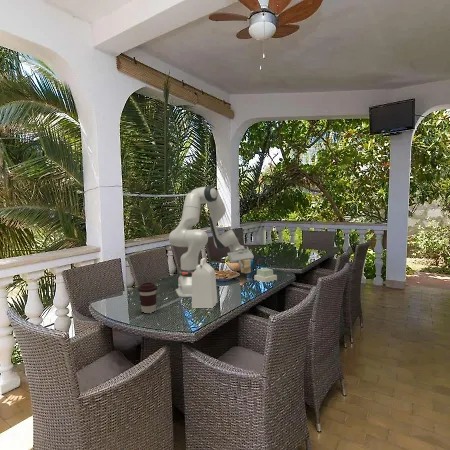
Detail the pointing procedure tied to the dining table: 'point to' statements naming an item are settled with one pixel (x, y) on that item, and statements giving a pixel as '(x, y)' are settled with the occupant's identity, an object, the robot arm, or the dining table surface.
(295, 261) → the dining table surface
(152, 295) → the coffee cup
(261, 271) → the tower top block
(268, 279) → the tower base slab
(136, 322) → the dining table surface
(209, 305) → the milk
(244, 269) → the beech pillar
